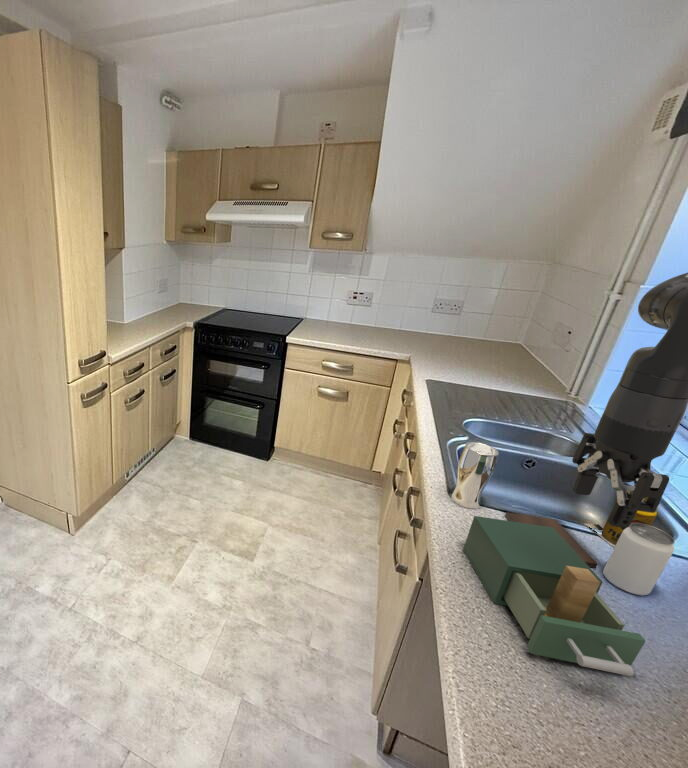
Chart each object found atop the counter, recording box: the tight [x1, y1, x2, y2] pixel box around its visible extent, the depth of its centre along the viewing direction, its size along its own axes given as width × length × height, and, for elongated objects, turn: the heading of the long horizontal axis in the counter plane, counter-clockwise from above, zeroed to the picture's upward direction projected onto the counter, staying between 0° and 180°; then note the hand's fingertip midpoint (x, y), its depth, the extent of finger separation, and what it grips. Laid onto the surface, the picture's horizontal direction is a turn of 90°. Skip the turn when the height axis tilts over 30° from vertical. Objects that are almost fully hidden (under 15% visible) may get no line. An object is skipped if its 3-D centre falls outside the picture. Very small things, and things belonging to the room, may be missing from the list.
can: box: [602, 523, 675, 596], centre depth 77 cm, size 6×6×12 cm
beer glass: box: [450, 441, 500, 510], centre depth 100 cm, size 7×7×15 cm
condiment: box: [583, 491, 661, 549], centre depth 89 cm, size 7×8×12 cm
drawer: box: [503, 571, 646, 677], centre depth 66 cm, size 17×13×7 cm
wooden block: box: [544, 566, 600, 622], centre depth 66 cm, size 5×5×11 cm
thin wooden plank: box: [504, 511, 599, 569], centre depth 90 cm, size 10×14×1 cm
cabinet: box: [462, 515, 604, 607], centre depth 78 cm, size 14×14×9 cm
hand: (597, 508), depth 67 cm, fingers open, 8 cm apart
